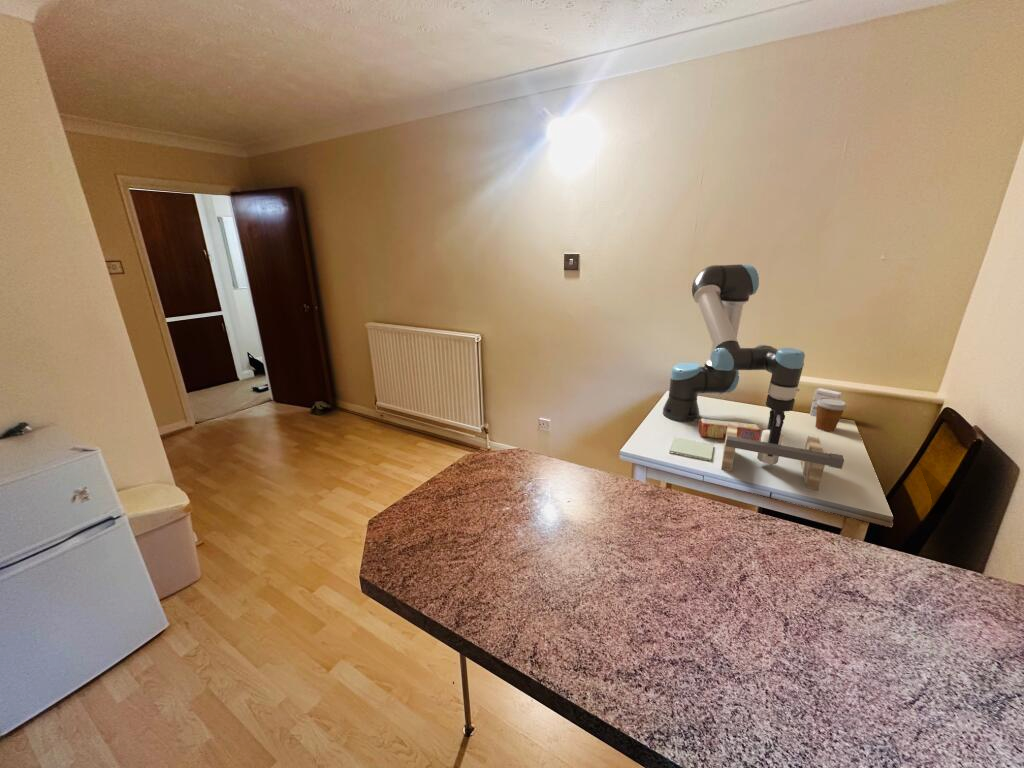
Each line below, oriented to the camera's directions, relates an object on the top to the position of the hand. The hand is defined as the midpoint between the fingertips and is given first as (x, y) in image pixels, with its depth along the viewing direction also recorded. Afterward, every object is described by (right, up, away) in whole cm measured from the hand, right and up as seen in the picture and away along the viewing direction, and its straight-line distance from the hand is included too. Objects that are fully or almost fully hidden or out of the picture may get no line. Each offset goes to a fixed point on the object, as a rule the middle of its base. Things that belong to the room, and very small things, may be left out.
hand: (767, 458), depth 138 cm
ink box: (+48, +11, +38) cm, 62 cm away
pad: (-20, +1, +13) cm, 24 cm away
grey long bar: (-5, +4, -14) cm, 15 cm away
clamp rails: (0, -3, +1) cm, 3 cm away
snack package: (-2, +4, +22) cm, 22 cm away
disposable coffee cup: (+41, +7, +27) cm, 49 cm away
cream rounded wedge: (0, 0, 0) cm, 0 cm away
